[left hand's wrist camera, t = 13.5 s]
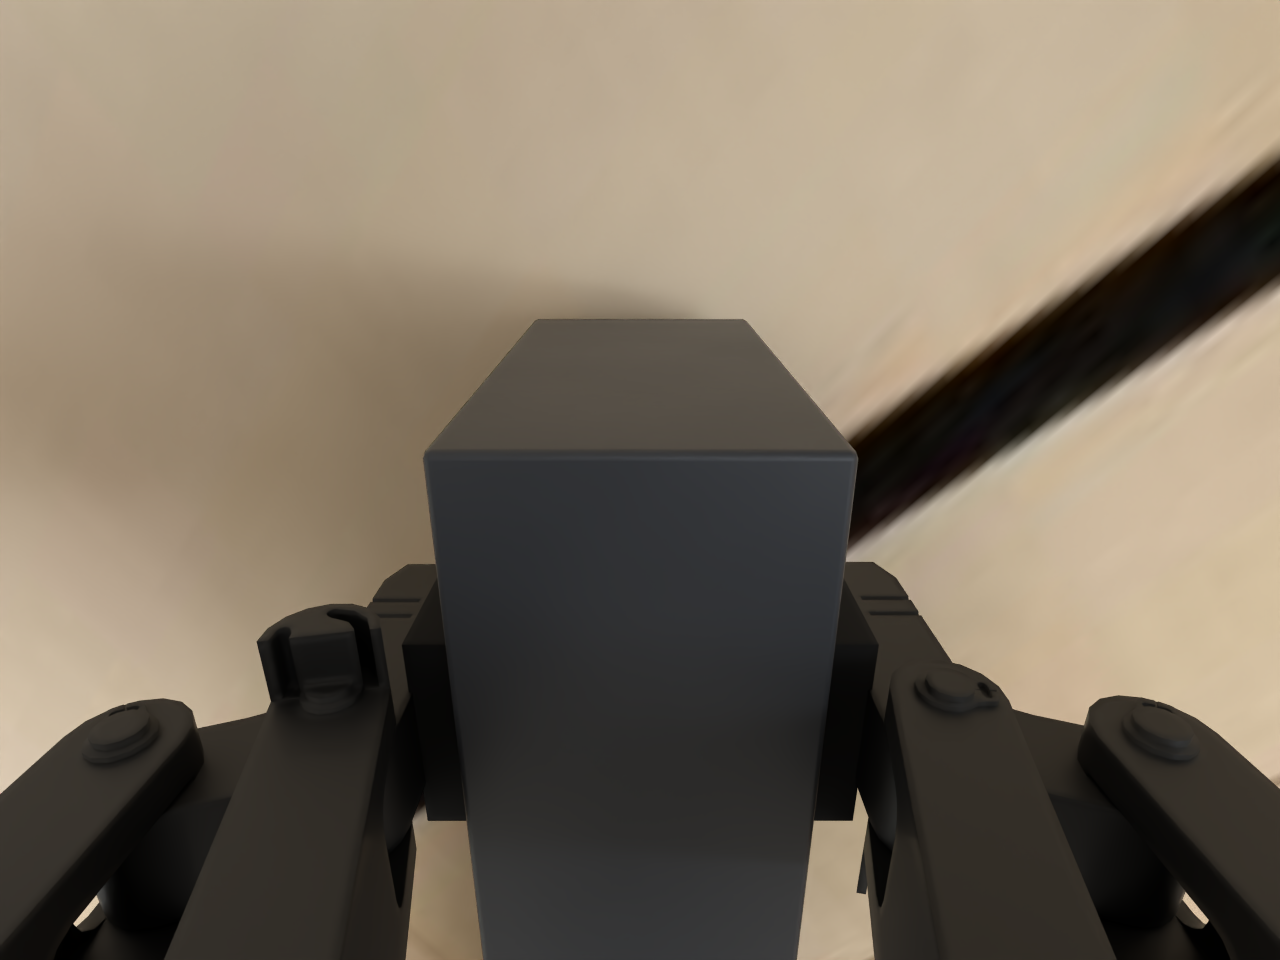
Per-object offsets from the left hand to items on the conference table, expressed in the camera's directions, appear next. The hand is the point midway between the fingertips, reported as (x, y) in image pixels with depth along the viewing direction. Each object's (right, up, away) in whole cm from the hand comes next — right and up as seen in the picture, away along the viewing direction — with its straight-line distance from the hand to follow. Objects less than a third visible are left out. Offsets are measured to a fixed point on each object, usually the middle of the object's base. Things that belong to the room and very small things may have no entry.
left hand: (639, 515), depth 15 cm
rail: (0, -11, +5) cm, 12 cm away
